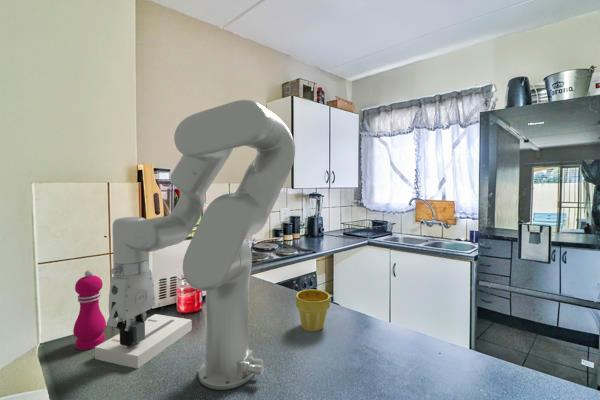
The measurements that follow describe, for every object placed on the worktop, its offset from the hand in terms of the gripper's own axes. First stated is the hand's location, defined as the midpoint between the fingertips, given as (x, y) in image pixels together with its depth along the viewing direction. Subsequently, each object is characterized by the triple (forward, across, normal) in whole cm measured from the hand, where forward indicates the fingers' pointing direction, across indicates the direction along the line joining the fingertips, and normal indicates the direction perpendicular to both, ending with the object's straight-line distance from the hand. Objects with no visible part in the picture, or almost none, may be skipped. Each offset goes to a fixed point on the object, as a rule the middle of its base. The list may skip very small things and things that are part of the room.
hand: (132, 340), depth 75 cm
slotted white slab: (+4, +6, +2) cm, 8 cm away
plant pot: (+4, +30, -38) cm, 49 cm away
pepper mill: (+4, +2, +16) cm, 16 cm away
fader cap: (+1, 0, 0) cm, 1 cm away
